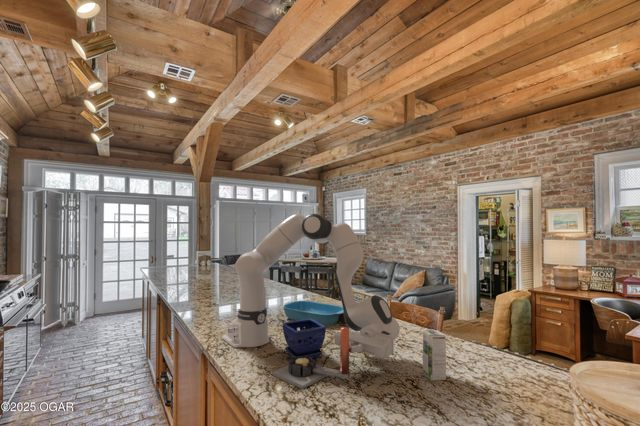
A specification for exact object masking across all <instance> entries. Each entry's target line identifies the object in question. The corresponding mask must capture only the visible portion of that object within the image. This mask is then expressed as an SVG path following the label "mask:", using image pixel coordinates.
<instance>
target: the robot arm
mask: <svg viewBox="0 0 640 426" xmlns="http://www.w3.org/2000/svg"><path fill="white" fill-rule="evenodd" d="M303 238H307V239H309V240H310V241H311V242H314V243H316V244H318V245H327V244H330V245H331V247H332V249H333V253H334V255H335V258H336V269H335V277H336V278H335V280H336V283H337V288H338V291H339V295H340V296H339V297H340V300H341V304H342V305H341V306H342V307H343V311H344V320H345V323H346V327H349V329H350V330H349V354H350V353H351V354H355V353H363V354H366V355H370V356H374V357H377V358H381V359H387V358H389V357H390V356H392V355H393V354H394V350H395V349H394V348H395V343H394V341H395V340H397V338H398V336H399V335H400V331H401V330H400V328H401V327H400V324H399V322H398V320H396V318H394V317H393V315H392V310H391V307H390V305H389V304H388V302H387V301H386V300H385V299H384V298H382V297H381V296H379V295H377V294H375V295H372V296H369V297H367V298H365V299H363V300H361V301H358V302H356V299H355V295H354V294H355V293H354V289H353V286H352V279H353V277H354V275H355V274H356V272H357V271H358V270H359V268H360V267H361V265H362V263H363V261H364V250H363V248H362V246H361V243H360V241H359V239H358V237H357V236H356V234H355V232H354V230H353V229H352V227H351V226H350V225H349V224H348V223H345V222H339V223H336V224H332V222H331V221H330V220H328V219H327V218H326V217H324V216H323V215H322V214H318V213H310V214H308V215H306V216H304V215H302V214H300V213H294V214H292V215H290V216H289V217H287V218H286V219H285V220H283V221H282V222H280V223H279V224H278V225H277V226H276V227H274V228H273V229H272V230H271V231H270V232H269V233H267V235H266V236H264V237H263V239H262V240H261V241H260V242H259V243H258V244H257V246H256V247H255V248H254V249H252V250H251V251H249V252H245V253H243V254H241V255H240V256H239V257H238V258H237V260H236V262H235V264H234V268H235V272H236V274H237V279H238V284H239V308H238V309H237V310H236V313H237V317H236V318H235V319H233V320H232V321H231V322H230V323H229V324H228V326H227V331H226V332H227V333H225V334H223V335H222V336H221V339H222V340H223V341H225V342H226V343H227V344H229V345H230V346H231V347H233V348H256V347H260V346H264V345H266V344H268V343H269V342H270V338H271V334H270V333H269V322H268V321H269V320H268V318H267V316H268V310H267V309H268V308H267V290H266V285H265V279H264V273H266V272H267V271H268V270H270V268H271V267H272V266H273V265H274V264H275V263H276V262H277V261H278V260H279V259H280V258H281V257H282V256H283V255H285V254H286V252H288V251H289V250H290V249H292V247H293V246H294V245H296V244H297V243H298V241H300V240H302V239H303ZM334 345H336V346H339V347H340V331H339V332H337V333H335V334H334Z"/></svg>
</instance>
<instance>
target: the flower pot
mask: <svg viewBox="0 0 640 426" xmlns="http://www.w3.org/2000/svg"><path fill="white" fill-rule="evenodd" d="M326 327H327V326H324V325H322V324H320V323H318V322H317V321H315V320H313V319H305V320H298V321H296V320H292V321H287V322H283V323H282V331H283V337H284V340H285V342H286V344H287V346H285V347H284V349H285V351H286V352H287V354H288V355H290V357H291V358H292V357H295V358H302V356H304V355H305V356H311V359H316V358H318V357H320V356H321V355H323V351H322V350H321V349H322V346H323V344H324V340H325V337H326V329H327V328H326ZM298 328H299V330H298Z"/></svg>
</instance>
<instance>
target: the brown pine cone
mask: <svg viewBox="0 0 640 426" xmlns="http://www.w3.org/2000/svg"><path fill="white" fill-rule="evenodd" d="M339 324H341V325H344V324H346V323H345V320H344V314H341V315H340V317H339ZM346 325H347V324H346Z"/></svg>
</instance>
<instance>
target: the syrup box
mask: <svg viewBox="0 0 640 426" xmlns="http://www.w3.org/2000/svg"><path fill="white" fill-rule="evenodd" d="M446 338H447V337H446V334H444V333H442V332H441V331H440V330H438V329H423V331H422V374H423V375H424V376H425V377H426V378H427V379H428V380H429V381H446V380H447V354H446V353H447V350H446V349H447V346H446V342H447V341H446V340H447V339H446Z"/></svg>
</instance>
